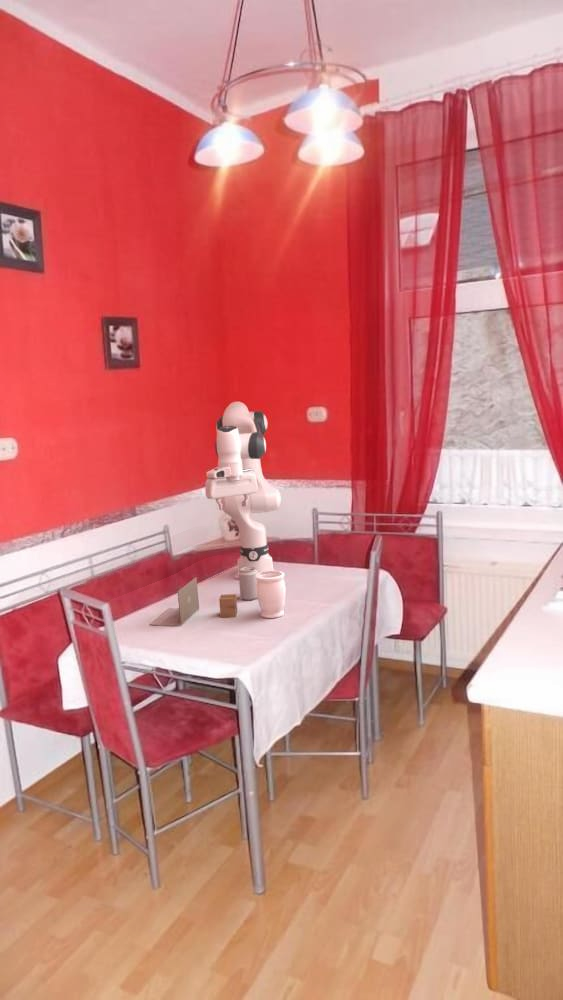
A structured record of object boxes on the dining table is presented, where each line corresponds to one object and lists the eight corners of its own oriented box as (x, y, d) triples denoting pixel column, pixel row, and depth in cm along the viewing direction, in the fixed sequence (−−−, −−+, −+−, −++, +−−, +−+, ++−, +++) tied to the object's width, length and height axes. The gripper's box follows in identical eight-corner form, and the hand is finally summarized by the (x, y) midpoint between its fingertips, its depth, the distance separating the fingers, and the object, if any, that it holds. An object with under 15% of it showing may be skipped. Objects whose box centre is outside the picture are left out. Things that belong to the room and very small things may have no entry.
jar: (284, 619, 251) (281, 578, 248) (255, 619, 253) (252, 578, 250) (289, 609, 261) (286, 570, 258) (261, 610, 263) (258, 570, 260)
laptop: (168, 609, 271) (165, 576, 269) (199, 610, 268) (197, 576, 266) (148, 626, 254) (145, 590, 252) (181, 627, 251) (178, 591, 248)
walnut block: (222, 612, 262) (221, 594, 261) (237, 612, 262) (236, 593, 261) (220, 617, 257) (219, 599, 256) (235, 617, 257) (234, 598, 256)
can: (257, 601, 274) (255, 570, 272) (238, 601, 275) (236, 571, 273) (261, 595, 281) (259, 565, 279) (243, 595, 282) (241, 565, 280)
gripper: (251, 467, 269) (253, 503, 271) (202, 473, 259) (205, 510, 261) (259, 468, 264) (262, 505, 266) (209, 474, 254) (212, 512, 256)
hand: (233, 508), depth 263 cm, fingers open, 8 cm apart
